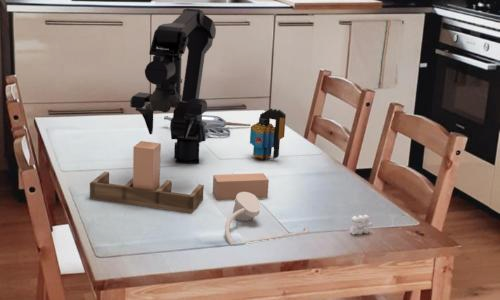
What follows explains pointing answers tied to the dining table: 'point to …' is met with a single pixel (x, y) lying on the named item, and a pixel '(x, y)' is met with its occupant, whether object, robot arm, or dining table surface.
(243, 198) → the toilet paper hanger
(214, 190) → the clay bar
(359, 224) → the white beaded block
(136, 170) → the clay bar
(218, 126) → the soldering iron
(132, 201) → the tray
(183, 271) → the dining table surface
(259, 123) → the toy
